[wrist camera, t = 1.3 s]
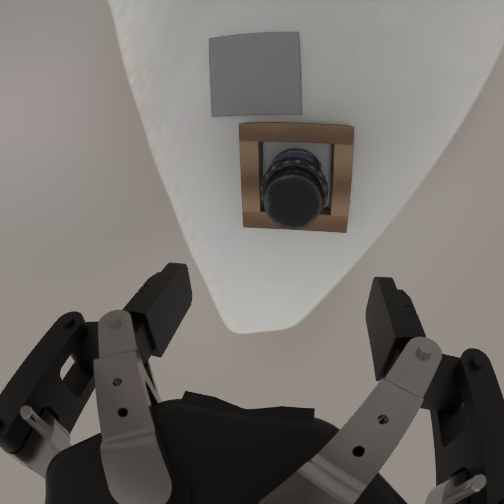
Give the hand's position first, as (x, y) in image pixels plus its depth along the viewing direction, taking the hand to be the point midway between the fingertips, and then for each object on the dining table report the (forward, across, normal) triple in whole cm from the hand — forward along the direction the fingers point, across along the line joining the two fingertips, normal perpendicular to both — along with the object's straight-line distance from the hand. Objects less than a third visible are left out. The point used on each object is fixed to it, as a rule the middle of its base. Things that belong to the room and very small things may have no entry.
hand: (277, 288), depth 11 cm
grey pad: (+22, +4, -12) cm, 26 cm away
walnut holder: (+22, 0, 0) cm, 22 cm away
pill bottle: (+23, 0, 0) cm, 23 cm away
